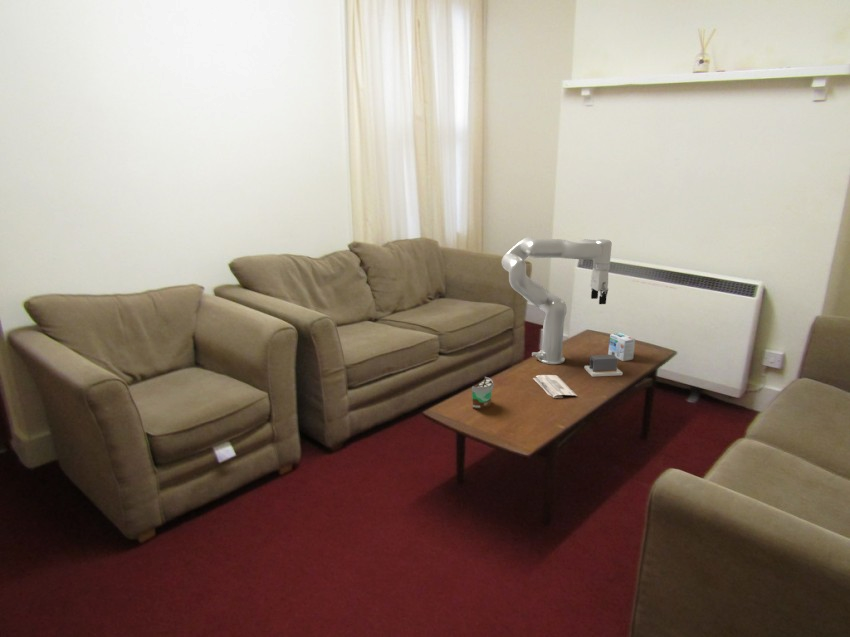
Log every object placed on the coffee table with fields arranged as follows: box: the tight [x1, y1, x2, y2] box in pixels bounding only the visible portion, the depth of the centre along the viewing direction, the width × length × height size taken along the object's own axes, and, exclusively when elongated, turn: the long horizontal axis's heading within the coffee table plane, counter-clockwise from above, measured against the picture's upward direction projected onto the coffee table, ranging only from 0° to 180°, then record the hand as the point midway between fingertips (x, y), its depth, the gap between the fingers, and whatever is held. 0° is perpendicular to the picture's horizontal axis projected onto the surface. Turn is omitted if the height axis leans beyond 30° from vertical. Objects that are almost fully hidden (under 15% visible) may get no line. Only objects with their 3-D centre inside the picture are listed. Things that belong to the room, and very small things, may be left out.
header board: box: [583, 365, 623, 378], centre depth 260 cm, size 14×10×5 cm
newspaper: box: [532, 374, 578, 399], centre depth 245 cm, size 23×12×2 cm, turn 9°
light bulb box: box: [607, 332, 636, 362], centre depth 277 cm, size 11×7×11 cm, turn 25°
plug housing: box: [588, 354, 619, 372], centre depth 259 cm, size 11×5×6 cm, turn 96°
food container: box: [471, 376, 495, 410], centre depth 227 cm, size 12×6×10 cm, turn 148°
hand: (598, 301), depth 271 cm, fingers open, 9 cm apart
